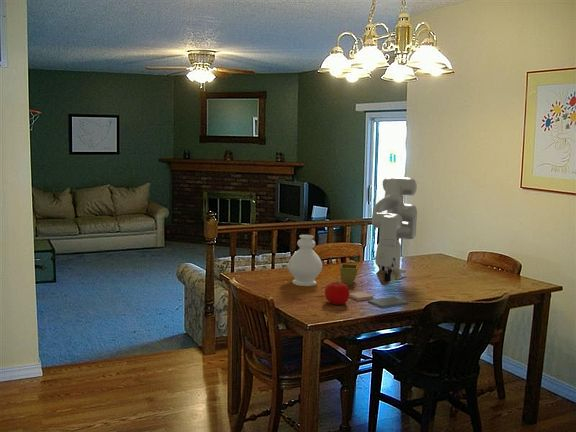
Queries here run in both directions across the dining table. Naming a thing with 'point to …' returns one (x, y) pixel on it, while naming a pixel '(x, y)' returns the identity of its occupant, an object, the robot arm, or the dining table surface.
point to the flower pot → (348, 273)
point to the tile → (360, 296)
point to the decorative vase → (305, 262)
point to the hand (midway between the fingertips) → (384, 280)
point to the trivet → (387, 302)
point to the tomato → (337, 293)
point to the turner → (394, 275)
